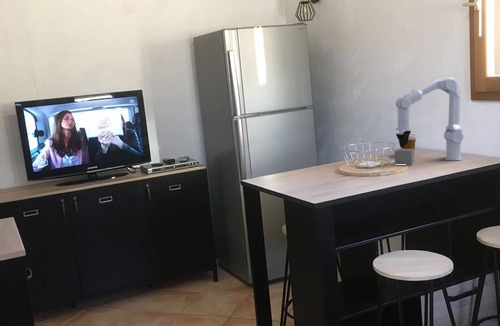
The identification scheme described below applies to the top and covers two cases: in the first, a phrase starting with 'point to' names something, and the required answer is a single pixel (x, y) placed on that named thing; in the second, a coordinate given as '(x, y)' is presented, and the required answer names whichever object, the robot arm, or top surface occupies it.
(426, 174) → the top surface
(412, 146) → the disposable coffee cup
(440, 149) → the top surface
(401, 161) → the grey block
